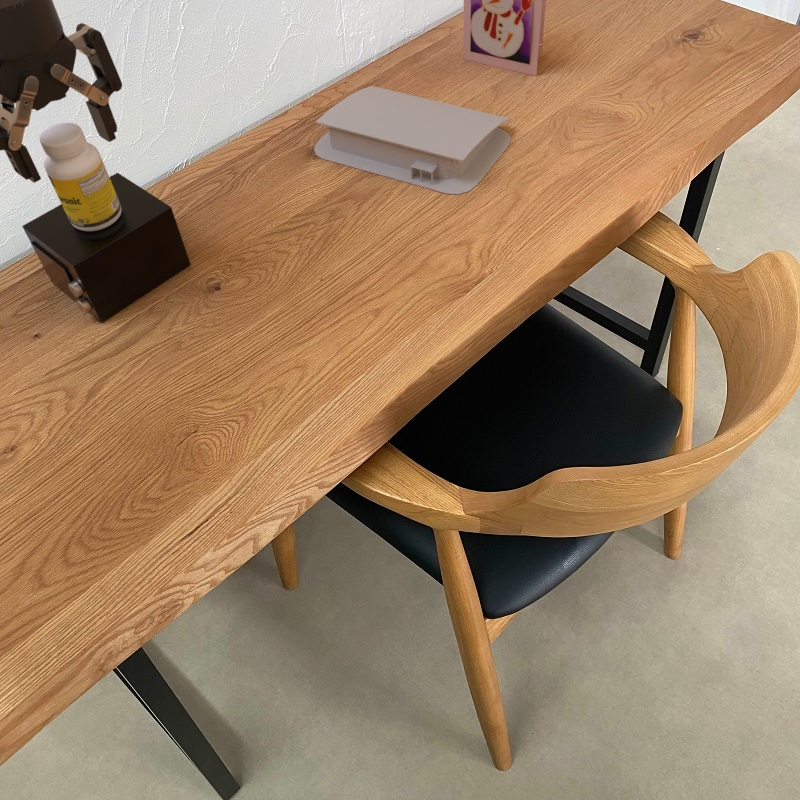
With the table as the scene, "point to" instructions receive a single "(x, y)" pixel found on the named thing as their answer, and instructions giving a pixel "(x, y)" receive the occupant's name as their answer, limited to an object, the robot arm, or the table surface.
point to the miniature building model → (413, 139)
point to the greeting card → (504, 33)
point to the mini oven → (111, 252)
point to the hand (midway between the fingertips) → (71, 157)
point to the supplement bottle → (79, 178)
